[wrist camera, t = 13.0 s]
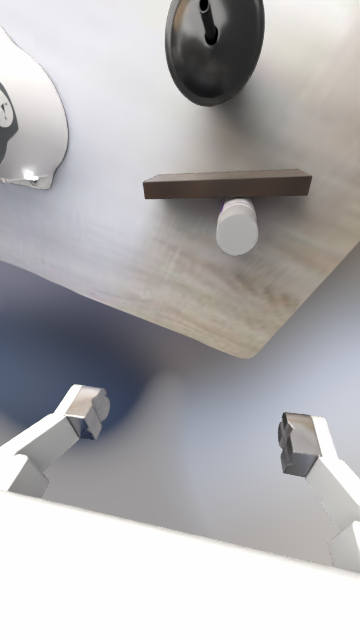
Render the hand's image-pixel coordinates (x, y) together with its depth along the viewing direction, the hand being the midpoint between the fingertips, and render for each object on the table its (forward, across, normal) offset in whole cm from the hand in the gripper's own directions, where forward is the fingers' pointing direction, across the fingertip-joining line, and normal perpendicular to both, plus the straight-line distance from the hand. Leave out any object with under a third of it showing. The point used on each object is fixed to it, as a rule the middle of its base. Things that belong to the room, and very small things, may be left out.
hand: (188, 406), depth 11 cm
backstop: (+35, 0, -5) cm, 35 cm away
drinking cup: (+35, +1, -16) cm, 39 cm away
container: (+35, -2, -1) cm, 35 cm away
